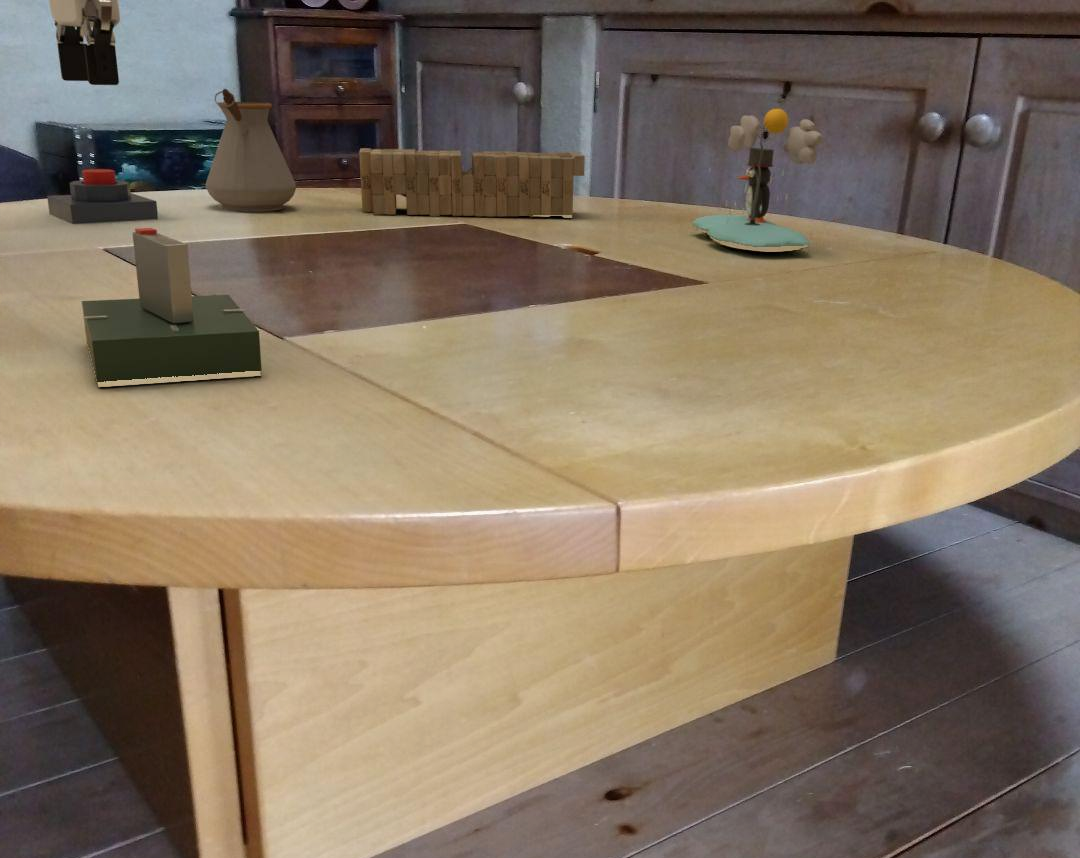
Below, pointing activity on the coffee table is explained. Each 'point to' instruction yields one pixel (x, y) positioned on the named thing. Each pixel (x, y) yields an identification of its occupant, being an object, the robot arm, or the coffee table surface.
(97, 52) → the robot arm
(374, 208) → the block tower
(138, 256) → the upright beige tablet
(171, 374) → the block
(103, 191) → the button block
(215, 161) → the coffee pot
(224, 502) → the coffee table surface
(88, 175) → the release button
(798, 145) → the penguin figurine
